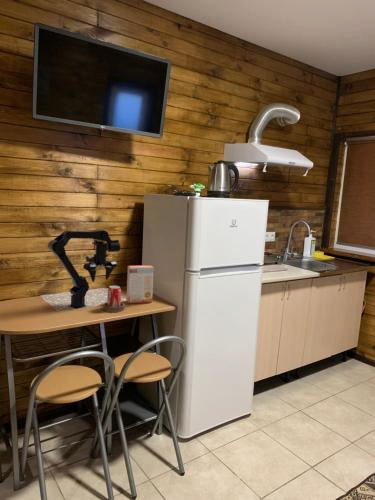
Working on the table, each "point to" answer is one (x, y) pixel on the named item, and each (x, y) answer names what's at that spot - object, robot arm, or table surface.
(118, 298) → the soda can
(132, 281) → the cracker box
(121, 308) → the ring
